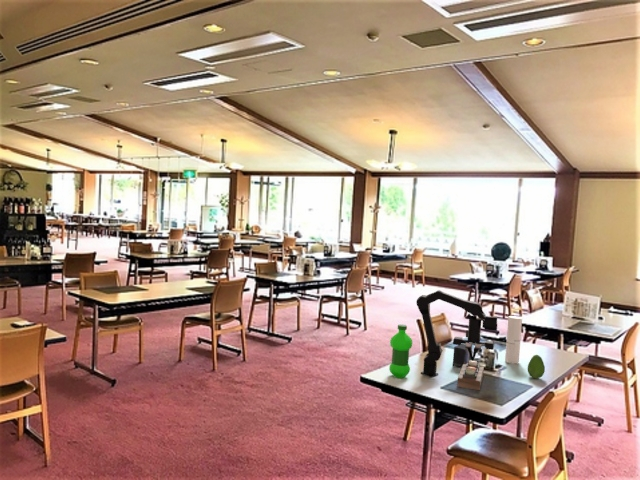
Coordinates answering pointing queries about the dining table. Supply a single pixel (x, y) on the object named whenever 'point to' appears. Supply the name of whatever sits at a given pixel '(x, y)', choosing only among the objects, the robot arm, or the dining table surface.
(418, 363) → the dining table surface
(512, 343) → the cylindrical container
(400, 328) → the plastic bottle
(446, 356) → the dining table surface
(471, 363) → the button cream
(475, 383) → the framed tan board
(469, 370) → the button sage
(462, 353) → the small box
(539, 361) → the avocado
